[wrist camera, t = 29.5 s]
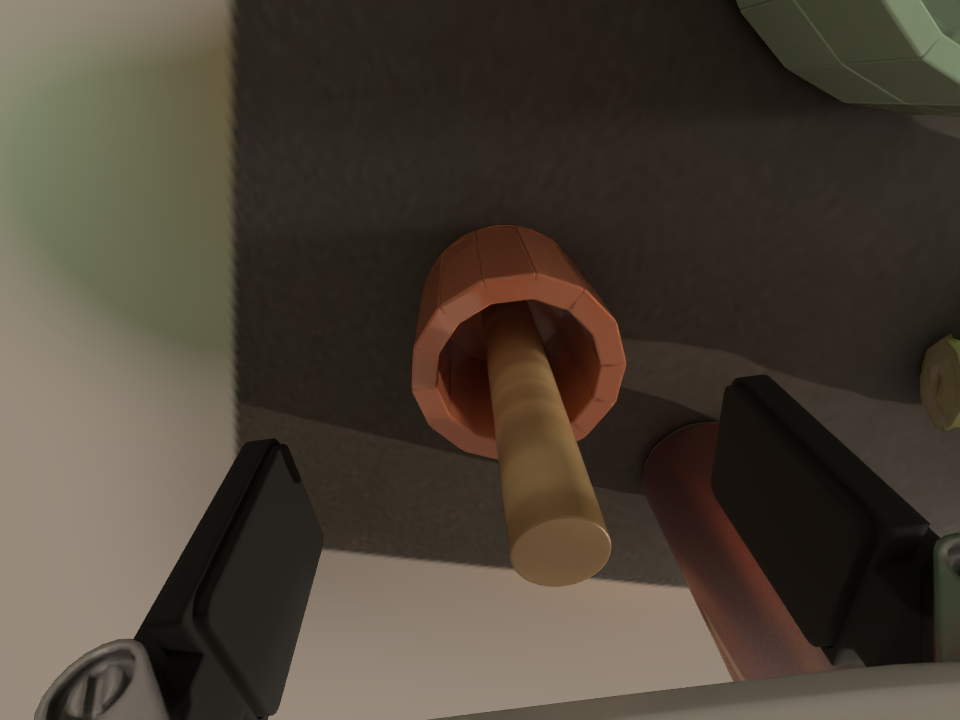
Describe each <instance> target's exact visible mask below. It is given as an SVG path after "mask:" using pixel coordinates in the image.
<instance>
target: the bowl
mask: <svg viewBox="0 0 960 720" xmlns="http://www.w3.org/2000/svg"><path fill="white" fill-rule="evenodd" d="M736 2H737V4H738V7H739V8H740V9H741V10H740V12H741V13H742V14H743V16H744V17H745V18H746V19H747V21H748V22H749V23H750V24H751V26H752V27H753V28H754V29H755V31H756V32H757V33H758V34H759V36H760V37H761V38H762V39H763V41H764V42H765V43H766V44H767V46H768V47H769V48H770V49H771V51H772V52H773V53H774V54H775V56H776V57H777V58H778V59H779V61H780V62H781V63H782V64H783V66H784V67H785V68H787V69H788V70H789V71H791V72H793V73H794V74H796V75H798V76H799V77H801V78H803V79H804V80H806V81H808V82H809V83H811V84H813V85H814V86H816V87H818V88H820V89H821V90H823V91H825V92H826V93H828V94H830V95H831V96H833V97H835V98H836V99H838V100H840V101H841V102H844V103H847V104H853V105H858V106H864V107H869V108H875V109H881V110H886V111H892V112H897V113H903V114H910V115H932V116H954V117H960V0H736Z"/></svg>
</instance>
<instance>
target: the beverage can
mask: <svg viewBox="0 0 960 720" xmlns="http://www.w3.org/2000/svg"><path fill="white" fill-rule="evenodd" d="M719 423H720V422H699V423H694V424H690V425H687V426H684V427H681V428H679V429H677V430H675V431H673V432H671V433H670V434H668V435H667V436H666V437H664V438H663V439H662V440H661V441H660V442H659V443H658V444H657V445H656V446H655V447H654V448H653V450H652V451H651V453H650V454H649V456H648V458H647V460H646V463H645V466H644V470H643V475H642V487H643V491H644V494H645V496H646V498H647V500H648V502H649V504H650V507H651V509H652V511H653V513H654V515H655V517H656V519H657V521H658V524H659V526H660V528H661V530H662V532H663V534H664V536H665V538H666V540H667V543H668V545H669V547H670V549H671V551H672V553H673V555H674V557H675V559H676V562H677V564H678V566H679V568H680V570H681V572H682V574H683V576H684V578H685V581H686V583H687V585H688V587H689V589H690V591H691V593H692V595H693V597H694V600H695V602H696V604H697V606H698V608H699V610H700V612H701V614H702V616H703V619H704V621H705V623H706V625H707V627H708V629H709V631H710V633H711V636H712V637H713V640H714V642H715V644H716V646H717V648H718V650H719V652H720V654H721V656H722V659H723V661H724V663H725V665H726V667H727V669H728V671H729V673H730V676H731V678H732V680H733V682H737V681H745V680H754V679H762V678H770V677H779V676H787V675H796V674H805V673H815V672H825V671H835V670H845V669H855V668H865V667H866V666H865V665H864V663H863V662H860V663H852V664H844V665H836V666H832V665H831V663H830V662H829V660H828V659H827V657H826V656H825V654H824V653H823V651H822V650H821V648H820V647H814V646H812V645H811V644H810V643H809V642H808V641H807V639H806V638H805V637H804V635H803V633H802V632H801V630H800V629H799V627H798V626H797V624H796V623H795V621H794V619H793V618H792V616H791V615H790V613H789V612H788V610H787V609H786V607H785V605H784V604H783V602H782V601H781V599H780V598H779V596H778V595H777V593H776V591H775V590H774V588H773V587H772V585H771V584H770V582H769V581H768V579H767V578H766V576H765V574H764V573H763V571H762V570H761V568H760V567H759V565H758V564H757V562H756V560H755V559H754V557H753V556H752V554H751V553H750V551H749V550H748V548H747V546H746V545H745V543H744V542H743V540H742V539H741V537H740V536H739V534H738V532H737V531H736V529H735V528H734V526H733V525H732V523H731V522H730V520H729V519H728V517H727V515H726V514H725V512H724V511H723V509H722V508H721V506H720V505H719V503H718V501H717V500H716V498H715V496H714V494H713V492H712V488H711V475H712V468H713V462H714V455H715V449H716V442H717V436H718V429H719Z"/></svg>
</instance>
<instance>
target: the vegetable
mask: <svg viewBox="0 0 960 720" xmlns="http://www.w3.org/2000/svg"><path fill="white" fill-rule="evenodd" d="M921 367H922V368H921V372H920V374H919V376H920V401H921V402H922V404H923V406H924V408H925V410H926V411H927V413H928V415H929V417H930V419H931V420H932V422H933V424H934V425H935V426H936V427H938V428H939V429H940V430H942V431H943V432H945V431H948V430H951V429H953V428H956V427H959V428H960V340H956V339H954V338H953V336H952V334H951V333H950V334H949V335H947V336H946V337H944V338H943V339H941V340H940V341H938V342H937V343H935V344H934V345H933V346H931V347H930V348H929V349H927V351H926V354H925V357H924V360H923V363H922V366H921Z"/></svg>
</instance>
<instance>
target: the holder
mask: <svg viewBox="0 0 960 720" xmlns="http://www.w3.org/2000/svg"><path fill="white" fill-rule="evenodd" d="M520 300H526V301H527V302H528V305H529V307H530V310H531V313H532V316H533V319H534V322H535V325H536V327H537V330H538V333H539V336H540V339H541V342H542V345H543V347H544V350H545V353H546V356H547V359H548V362H549V365H550V367H551V370H552V373H553V376H554V379H555V382H556V385H557V387H558V390H559V393H560V396H561V399H562V402H563V405H564V407H565V410H566V413H567V416H568V419H569V422H570V425H571V428H572V430H573V433H574V436H575V439H576V442H577V441H579V440H580V439H582V438H584V437H586V435H587V434H589V433H590V432H591V430H592V429H593V428H594V427H595V426H596V425H597V424H598V422H599V421H600V420H601V419H602V418H603V417H604V416H605V414H606V413H607V412H608V411H609V410H610V409H611V408H612V406H613V405H614V403H616V400H617V396H618V392H619V389H620V385H621V382H622V378H623V375H624V371H625V368H626V357H625V353H624V349H623V345H622V341H621V337H620V332H619V328H618V324H617V322H616V320H615V318H614V317H613V315H612V314H611V313H610V311H609V310H608V308H607V307H606V306H605V304H604V303H603V301H602V300H601V299H600V297H599V296H598V294H597V293H596V292H595V290H594V289H593V287H592V286H591V285H590V283H589V282H588V280H587V279H586V277H585V276H584V275H583V273H582V272H581V270H580V269H579V268H578V266H577V265H576V264H575V263H574V261H573V260H572V259H571V258H570V257H569V256H568V255H567V254H566V253H565V251H564V250H563V249H562V248H561V247H560V246H559V245H558V244H557V243H556V242H555V241H554V240H552V239H550V238H549V237H547V236H545V235H544V234H542V233H540V232H538V231H535V230H532V229H529V228H526V227H521V226H516V225H494V226H489V227H484V228H481V229H478V230H475V231H472V232H470V233H468V234H466V235H464V236H462V237H461V238H459V239H458V240H456V241H455V242H453V243H452V244H451V245H450V246H449V247H447V248H446V249H445V250H444V251H443V253H442V254H441V255H440V256H439V257H438V258H437V260H436V262H435V263H434V265H433V266H432V268H431V270H430V272H429V274H428V277H427V279H426V281H425V283H424V287H423V291H422V297H421V303H420V309H419V315H418V321H417V327H416V333H415V339H414V345H413V357H412V378H411V387H412V393H413V395H414V397H415V399H416V401H417V403H418V405H419V407H420V409H421V411H422V413H423V415H424V416H425V418H426V420H427V422H428V424H429V426H431V427H432V428H433V429H434V430H435V431H437V432H438V433H439V434H441V435H442V436H443V437H445V438H446V439H448V440H449V441H450V442H452V443H453V444H454V445H456V446H457V447H458V448H460V449H461V450H464V451H465V452H468V453H473V454H477V455H481V456H485V457H489V458H493V459H497V460H498V452H497V444H496V436H495V427H494V419H493V410H492V402H491V394H490V385H489V377H488V368H487V360H486V352H485V343H484V335H483V327H482V318H481V310H483V309H484V308H486V307H487V306H489V305H491V304H496V303H504V302H512V301H520Z"/></svg>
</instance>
